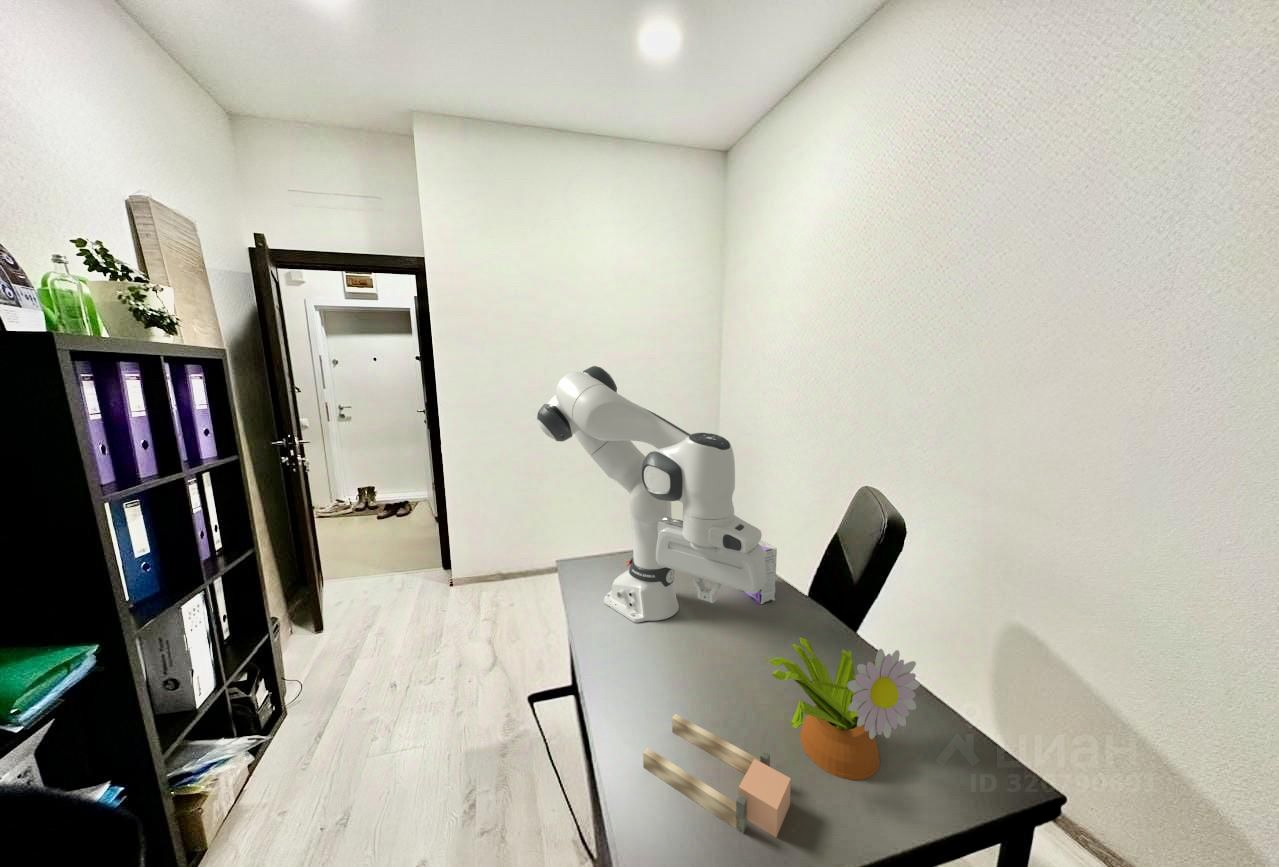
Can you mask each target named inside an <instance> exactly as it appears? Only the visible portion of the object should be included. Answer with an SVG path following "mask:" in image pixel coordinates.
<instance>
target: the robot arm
mask: <svg viewBox="0 0 1279 867" xmlns="http://www.w3.org/2000/svg"><path fill="white" fill-rule="evenodd" d="M536 419H537V421H538V424H539V427H540V429H541V430H542V432H543V433H544V434H545V435H546V436H547V437H549V438H550V439H551V440H552V439H553V440H554V441H556V442H561V443H562V442H565V441H567V440H569V439H571V438H572V437H573V435H575V437H576V439H577V440H578V442H579V443H580V445H581V446H582V447H583V448H584V450H585V451H586V453H587V454H588V455H589V457H590V458H592V460H593V461H594V462H595V463H596V464H597V465H598V466H599V468H601V469H600V470H602V471H603V472H604V473H605V475H606V476H607V477H608V478H610V479H612V480H613V481H615V482H617V483H618V484H619V485H620V486H622V488H624V489H625V490H626V491H627V493H629V515H630V524H631V531H632V551H633V553H632V555H633V557H632V558H630V560H628V561H626V562H625V564H626V565H625V566H626V567H628V566H629V569H627V570H626V571H624V572H622V573H621V574H619V576H618V575H617V577H616V578H615V579H614V580H613V581H612V582H613V583H612V585H611V590H610V591H608V592H607V593H606V594H605V596H604V598H603V604H605V605H606V606H607V607H609V606H610V608H611V609H612V610H614V611H616V612H617V613H619V614H620V615H622V616H623V617H625V618H627V619H628V620H630V621H631V622H633V623H642V622H647V621H653V622H654V621H661V620H666V619H668V618H671V617H672V616H674V615H675V614H677V612H678V611H679V609H680V605H679V602H678V598H677V594H676V589H675V581H674V580H675V571H677V572H680V573H683V574H687V575H690V576H691V577H692V578H691V581H692V583H693V584H694V586H695V589H696V590H697V599H699V600H702V601H705V602H708V603H711V604H715V602H717V595H718V594H717V592H718V591H719V589H720V588H721V587H722V586H725V587H729V588H732V589H736V590H738V591H742V592H743V591H745V592H748V593H751V594H756V593H757V592H759V591H760V590H761V589H762V588H763V586H764V585H765V582H766V563H765V555H764V551H763V549H762V547H761V546H760V545H759V544H758V543H759V541H760V540H762V537H763V536H762V534H763V533H762V531H761V530H760V529H759V528H758V527H756V526H755V525H753V524H751V523H749V522H747V521H745V520H743V519H742V518H740V517H738V516H737V515H736V514H735V507H734V503H733V495H734V492H735V490H736V489H735V488H736V467H735V466H736V464H735V455H734V454H735V453H734V450H733V447H732V445H731V443H730V441H729V440H727V439H726V438H725V437H723V436H721V435H718V434H715V433H709V432H696V433H690V432H688V431H686V430H684V429H682V428H680V427H679V426H678V425H675V424H673V423H672V422H671V421H669V420H667V419H665V418H664V417H662V416H660V415H658V414H656V412H653V411H651V410H648V409H646V408H645V407H643V406H641V405H638V404H637V403H635V402H632V401H631V400H629V399H628V398H625V397H624V396H622V395H620V394H619V393H618V387H617V384H616V382H615V380H614V378H613V377H612V375H611V374H610V373H609V372H608V371H606V370H605V369H604V368H602V367H600V366H596V365H593V366H590V367H589V368H586V369H584V370H583V371H582V372H581V371H573V372H570V373H569V372H568V373H567V374H565V375H564V376H563V377H562V378H561V379H560V380H559V381H558V384H556V389H555V394H554V395H553V396H552V397H551V398H550V399H549V400H548V402H546V403H544V404H543V405H542V406H541V407H540V409H539V410H538V411H537V415H536ZM633 442H642V443H645V444H648V445H651V446H653V447H655V448H656V450H653V451H650V452H649V453H647V455H644V453H642V452H641V451H640V449H638V448H637V446H636V445H635V444H634V443H633ZM672 502H680V503H681V504H682V519H675V518H672ZM704 580H706V581H709V582H710V586H711V587H712V588H710V587H706V585H705V582H704ZM745 592H744V593H745Z"/></svg>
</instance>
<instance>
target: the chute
mask: <svg viewBox="0 0 1279 867" xmlns="http://www.w3.org/2000/svg"><path fill="white" fill-rule="evenodd" d="M671 726H672V727H671V730H672V731H671V732H672V733H673V734H675V735H677V736H679V737H681V738H682V739H684V740H686V741H687V742H689V743H691V744H692V745H694V746H696V747H698V748H699V749H701V750H703V751H705V752H706V753H708V754H710V755H712V756H713V757H716V758H717V759H719V760H721V761H722V762H724V763H726V764H728V765H730V766H731V767H733V768H735V769H736V770H738V771H740V772H741V773H743V774H744V775H745V774H746V773H747V771H748V769H749V767H750V765H751V764H752V762H753V760H754V759H756V760H758V761H760V762H762V763H763V764H765V765H767V766H769V767H771V754H770V753H769V752H766V751H765V750H762V751H761V754H760V756H759V758H758V757H756V756H754V755H752V754H750V753H749V752H746V751H745V750H743V749H742V748H740V747H738V746H735V745H734V744H731V743H730V742H728V741H726V740H725V739H722V738H721V737H720V736H718V735H715V734H713V733H712V732H710V731H708V730H706V729H704V728H703V727H701V726H698V725H696V723H694V722H692V721H689V720H687V719H686V718H684V717H682V716H680V715H678V714H676V713H675V714H674V715H673V716H672V717H671ZM642 757H643V760H642V762H643V764H642V765H643V769H645V770H647V771H648V772H649V773H651V774H653V775H654V776H655V777H657V778H659V779H660V780H661V781H663V782H664V783H666V784H667V785H669V786H671V787H672V788H673V789H675V790H677V791H678V792H680V793H681V794H683V795H685V797H687V798H689V799H690V800H692V801H693V802H695V803H696V804H698V805H700V806H701V807H703V808H704V809H705V810H707V811H709V812H710V813H712V814H713V815H714V816H716V817H717V818H719V819H720V820H722V821H724V822H725V823H727V825H728V824H729V825H730V826H732V827H733V828H734V829H736V830H737V831H739V832H740V833H742V834H745V832H746V830H747V826H748V819H747V798H746V797H744V796H742V795H741V794H739V793H738V797H737V798H736V800H735V801H734V800H732V799H730V798H729V797H727V796H726V795H724V794H722V793H721V792H719V791H717V790H716V789H714V788H713V787H711V786H709V785H708V784H707V783H705V782H704V781H701V780H700V779H698V778H697V777H695V776H694V775H692V774H691V773H689V772H687V771H685V770H684V769H682V768H681V767H679V766H677V765H676V764H674V763H673V762H672V761H669V760H668V759H666V758H665V757H663V756H661V755H660V754H658V753H656V752H655V751H653V750H652V749H650V748H649V747H646V749H644V751H643V753H642Z"/></svg>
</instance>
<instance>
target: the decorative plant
mask: <svg viewBox="0 0 1279 867" xmlns="http://www.w3.org/2000/svg"><path fill="white" fill-rule="evenodd" d="M798 638H799V642H800V645H802V646H803V647H804V648H805V650H804V648H802V646H800V645H798V644H794V643H793V644H792V643H791V644H790V645H791V646H792V647H793V649H794V650H795V652H796V653H797V654H798V655H799V657H800V658H801V659H802V661H803V662H804V664H805V666H806V669H807V671H808V673H809V675H810V678H811V679H810V678H809V677H808V675H807V674H806V673H805V672H804V671H803V670H802V669H801V667H800V666H799V664H797V663H796V662H793V661H791V660H790V659H787V658H785V657H775V658H771V659H767V658H765V661H766V662H769V663H770V664H772V665H773V666H775V667H777V668H778V667H780V666H781V665H783V666H784V667H785V668H786V669H787V670H788V671H786V672H784V671H782V670H774V671H772V674H771V676H773V678H774V679H776V680H781V681H786V680H788V679H792V680H794V682H796V683H797V684H798V685H799V686H800V687H801V688H802V689H803V691H804V692H805V693H806V694H807V696H808V697H809V699H810V700H812V702H813V703H814V704H815V705H812V704H810V703H807V702H805V701H802V700H800V699H798V702H797V703H798V704H797V707H796V711H795V712H794V714H793V716H792V717H793V718H792V719H791V722H790V723H789V726H792V727H793V728H794V729H797V728H799V727H800V726H801V729H800V735H799V738H800V742H801V743H800V744H801V746H802V747H803V750H804V752H805V753H806V754H807V756H808V757H809V758H810V759H811V761H812V762H813V763H814V764H816V765H817V767H819V768H820V769H822V770H824V771H825V772H827V773H829V774H831V775H833V776H835V777H837V778H841V779H844V780H845V779H846V780H850V781H856V780H857V781H860V780H865V779H868V778H870V777H872V776H873V775H875V773H877V771H878V770H879V767H880V762H881V761H880V759H881V758H880V753H879V749H878V748H879V747H878V741H877V739H876V735H877V734H878V735H880V736H881V735H882V734H883V735H884V737H885V738H886V739H889V738H890V737H891V733H892V729H894V730H896V729H898V725H899V726H900V727H901V726H902V727H906V725H907V718H906V717H908V716H909V715H910V712H909V710H910V711H911V710H912V711H913V710H916V709H917V704H916V702H915V700H914V698H915V697H916V693H915V692H914V690H916V689H918V688H919V687H920V685H921V684H920V682H919V681H918V680H916V679H915V678H916V677H917V675H916V673H913V670H914V669H915V667H916V665H917V662H916V661H913V660H912V661H911V660H910V661H909V662H906V663H905V660H904V659H900V655H901V654H900V651H899V649H897V650H895V651H894V652H893V653H892V654H891V653H888V654H886V655H885V651H884V650H883V648H879V649H878V650H877V653H876V654H875V655H876V656H875V661H872V662H871V661H868V662H867V663H866V664H863V663H859V664H857V667H856V669H857V670H856V671H857V672H858V673H857V674H856V671H855V667H854V663H853V662H854V661H853V658H852V652H851V650H844V649H841V651H840V652H841V655H840V656H841V657H840V660H839V663H838V667H837V671H836V675H835V679H834V682H833V681H832V678H831V677H830V675H829V672H828V670H827V667H826V665H825V664H824V663H823V662H821V660H819V658H818V657H817V655H816V654H815V653H814V650H813V647H812V646H811V643H810V640H808V639H806V638H803V637H798ZM806 651H807V652H808V653H807V652H806ZM808 654H809V655H810V656H811V657H810V656H809V655H808ZM804 714H806V716H804ZM804 717H805V718H804Z"/></svg>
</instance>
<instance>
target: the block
mask: <svg viewBox="0 0 1279 867" xmlns="http://www.w3.org/2000/svg"><path fill="white" fill-rule="evenodd" d="M791 783H792V778H791V777H789V776H788V775H785V773H781V772H780V771H778V770H776V769H775V768H773V767H771V766H770V767H769V766H767V765H765V764H763V763H762V762H760V761H758V760H756V759H754V760H753V762H752V764H751V765H750V767H749V769H748V771H747V773H746V774H745V773H744V776H743V778H742V780H741V782H740V784H739V786H738V795H739V794H741V795H742V796H744V797H746V798H747V821H749V822H751V823H752V824H754V825H756V826H757V827H759V828H760V829H762V830H764V831H765V832H766V833H768V834H770V835H771V836H773V837H774V838H778V835H779V832H780V830H781V827H782V825H783V823H784V821H785V817H786V815H787V814H788V811H789V808H790V806H791V788H792V787H791V786H792V784H791Z"/></svg>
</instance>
